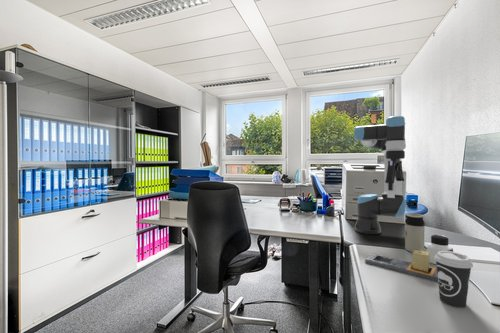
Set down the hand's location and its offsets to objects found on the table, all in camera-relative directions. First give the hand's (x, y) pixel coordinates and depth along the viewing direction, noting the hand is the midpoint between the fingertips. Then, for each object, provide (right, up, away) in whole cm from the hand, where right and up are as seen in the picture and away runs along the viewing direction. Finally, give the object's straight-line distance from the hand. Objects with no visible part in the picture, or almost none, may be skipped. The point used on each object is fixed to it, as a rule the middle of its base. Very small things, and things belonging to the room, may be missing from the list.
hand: (395, 196), depth 114 cm
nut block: (+1, -29, -15) cm, 33 cm away
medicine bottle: (+16, -29, -6) cm, 34 cm away
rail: (-4, -29, -11) cm, 31 cm away
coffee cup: (-2, -30, -35) cm, 46 cm away
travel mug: (+15, -29, +9) cm, 33 cm away
